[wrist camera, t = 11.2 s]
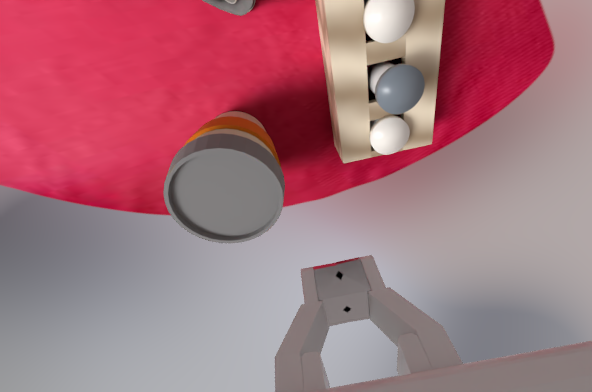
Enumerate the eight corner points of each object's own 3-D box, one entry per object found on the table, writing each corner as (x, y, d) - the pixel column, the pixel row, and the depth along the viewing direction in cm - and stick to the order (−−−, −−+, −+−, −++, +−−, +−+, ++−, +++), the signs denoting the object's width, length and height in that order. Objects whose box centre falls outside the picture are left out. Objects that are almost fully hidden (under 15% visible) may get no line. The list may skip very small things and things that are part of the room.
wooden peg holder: (314, -6, 32) (323, -7, 27) (419, -33, 31) (448, -38, 26) (334, 144, 43) (343, 163, 38) (412, 127, 42) (431, 143, 37)
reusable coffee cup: (270, 89, 37) (272, 133, 25) (287, 169, 44) (294, 234, 32) (178, 106, 37) (136, 159, 25) (210, 184, 45) (189, 253, 33)
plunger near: (347, -8, 31) (364, -9, 26) (389, -18, 31) (415, -22, 26) (350, 40, 34) (367, 48, 29) (389, 31, 34) (413, 37, 28)
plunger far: (355, 105, 39) (370, 123, 33) (389, 97, 39) (410, 114, 33) (358, 137, 42) (372, 158, 36) (389, 129, 42) (408, 149, 36)
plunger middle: (358, 59, 33) (377, 71, 27) (399, 50, 32) (426, 60, 27) (361, 100, 35) (378, 118, 30) (398, 91, 35) (423, 108, 30)
